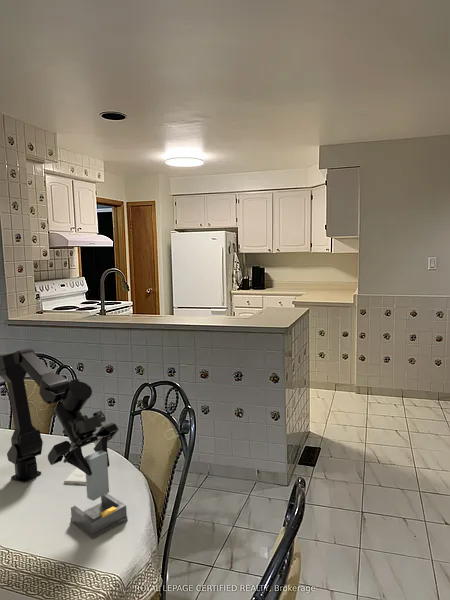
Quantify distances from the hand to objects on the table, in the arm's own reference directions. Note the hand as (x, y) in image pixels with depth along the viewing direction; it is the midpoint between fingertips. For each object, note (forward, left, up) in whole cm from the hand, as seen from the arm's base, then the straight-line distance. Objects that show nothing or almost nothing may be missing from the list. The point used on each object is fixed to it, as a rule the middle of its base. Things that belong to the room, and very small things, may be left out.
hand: (99, 470), depth 114 cm
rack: (-1, -1, -14) cm, 14 cm away
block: (-1, 0, -7) cm, 7 cm away
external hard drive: (-23, +16, -14) cm, 31 cm away
